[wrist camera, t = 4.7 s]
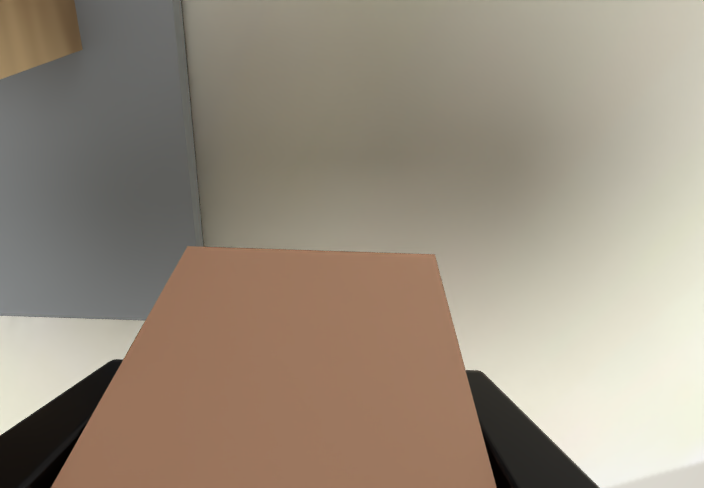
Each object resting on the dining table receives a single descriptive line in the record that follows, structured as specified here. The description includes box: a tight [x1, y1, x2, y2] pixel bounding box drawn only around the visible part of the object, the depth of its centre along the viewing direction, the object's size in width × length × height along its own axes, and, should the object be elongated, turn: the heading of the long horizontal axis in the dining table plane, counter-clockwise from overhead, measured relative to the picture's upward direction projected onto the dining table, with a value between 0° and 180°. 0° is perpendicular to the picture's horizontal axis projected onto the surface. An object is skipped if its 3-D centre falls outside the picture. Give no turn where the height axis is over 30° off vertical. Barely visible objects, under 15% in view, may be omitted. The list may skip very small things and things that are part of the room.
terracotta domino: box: [51, 246, 497, 488], centre depth 8 cm, size 2×5×10 cm, turn 88°
